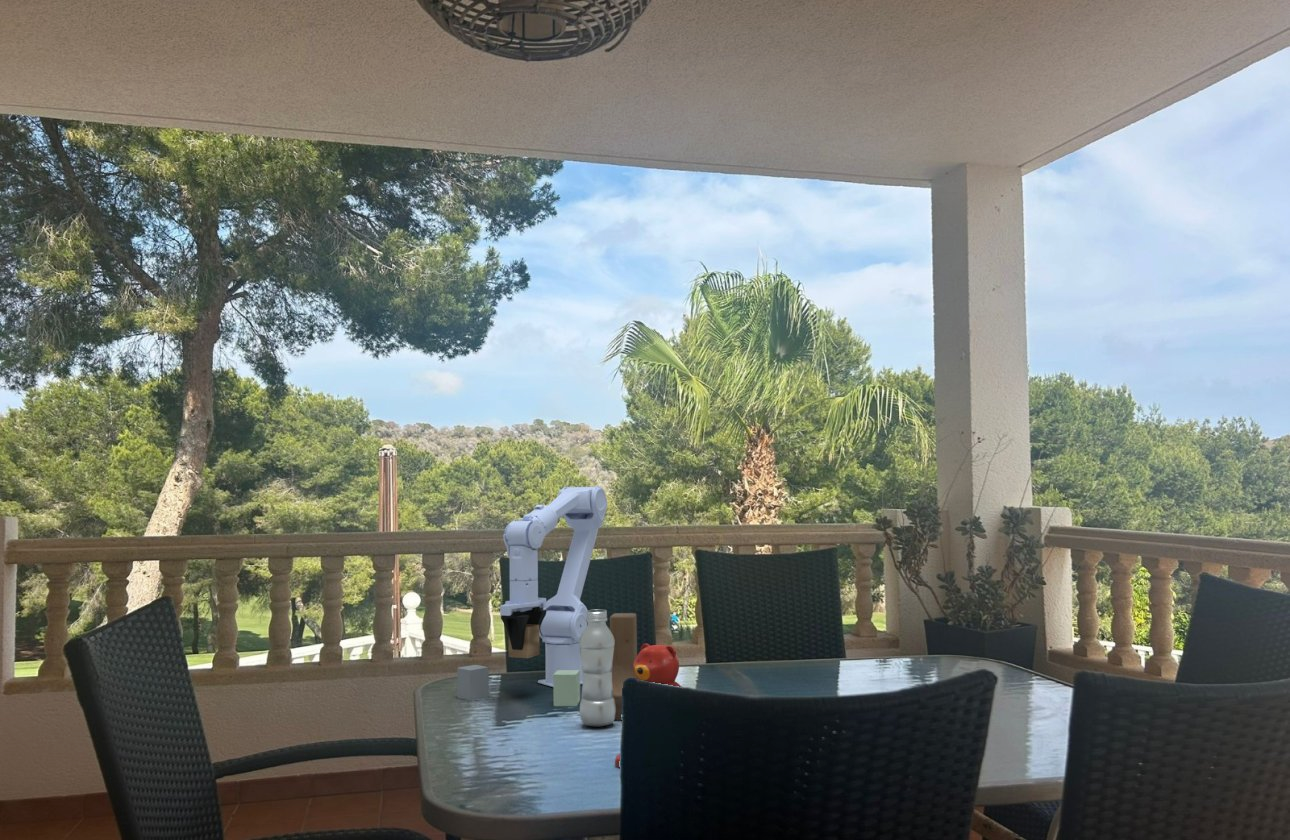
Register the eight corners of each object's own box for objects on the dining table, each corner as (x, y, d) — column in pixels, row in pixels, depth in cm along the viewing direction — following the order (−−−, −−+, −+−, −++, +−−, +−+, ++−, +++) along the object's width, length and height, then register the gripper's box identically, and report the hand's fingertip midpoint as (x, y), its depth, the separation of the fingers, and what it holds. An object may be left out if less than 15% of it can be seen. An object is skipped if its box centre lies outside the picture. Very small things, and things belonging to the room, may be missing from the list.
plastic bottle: (618, 721, 167) (617, 608, 169) (613, 730, 161) (612, 613, 162) (583, 721, 168) (581, 608, 170) (576, 730, 161) (575, 613, 163)
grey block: (475, 694, 192) (475, 664, 193) (488, 697, 189) (488, 667, 190) (457, 697, 189) (457, 667, 190) (470, 701, 186) (470, 670, 187)
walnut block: (520, 653, 192) (520, 623, 192) (539, 654, 190) (539, 624, 191) (508, 657, 188) (508, 626, 188) (527, 658, 186) (527, 627, 186)
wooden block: (631, 721, 167) (630, 619, 169) (606, 720, 168) (605, 619, 169) (638, 709, 176) (636, 612, 178) (614, 709, 177) (613, 612, 178)
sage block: (557, 701, 185) (557, 670, 185) (580, 701, 185) (579, 670, 185) (553, 706, 180) (553, 674, 181) (576, 706, 180) (576, 674, 181)
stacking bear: (608, 765, 140) (607, 645, 141) (656, 752, 147) (654, 637, 148) (660, 780, 132) (658, 653, 134) (707, 765, 139) (705, 644, 141)
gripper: (525, 576, 198) (526, 641, 197) (487, 582, 185) (487, 652, 184) (554, 577, 196) (555, 642, 194) (517, 583, 182) (517, 654, 181)
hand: (524, 647), depth 189 cm, fingers closed on walnut block, 4 cm apart
